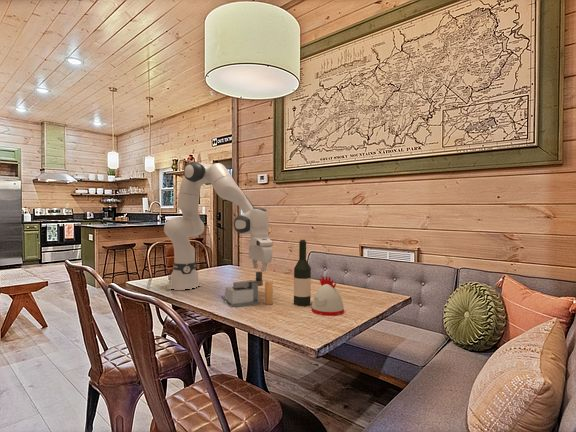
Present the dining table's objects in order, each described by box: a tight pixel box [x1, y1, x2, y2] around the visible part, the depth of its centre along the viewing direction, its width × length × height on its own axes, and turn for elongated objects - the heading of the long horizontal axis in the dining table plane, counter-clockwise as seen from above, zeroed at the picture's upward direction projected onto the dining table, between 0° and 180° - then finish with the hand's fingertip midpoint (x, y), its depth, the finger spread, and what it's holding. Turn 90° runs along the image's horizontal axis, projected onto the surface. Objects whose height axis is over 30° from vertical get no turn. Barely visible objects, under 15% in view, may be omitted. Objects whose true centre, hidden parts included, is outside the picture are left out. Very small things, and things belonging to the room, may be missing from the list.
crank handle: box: [232, 271, 264, 288], centre depth 163 cm, size 3×14×6 cm, turn 119°
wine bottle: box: [293, 239, 312, 307], centre depth 160 cm, size 8×8×30 cm
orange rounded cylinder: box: [264, 281, 274, 306], centre depth 160 cm, size 4×4×10 cm
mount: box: [220, 279, 261, 308], centre depth 164 cm, size 18×13×10 cm
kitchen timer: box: [311, 276, 345, 317], centre depth 149 cm, size 14×14×15 cm
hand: (259, 269), depth 165 cm, fingers open, 8 cm apart
